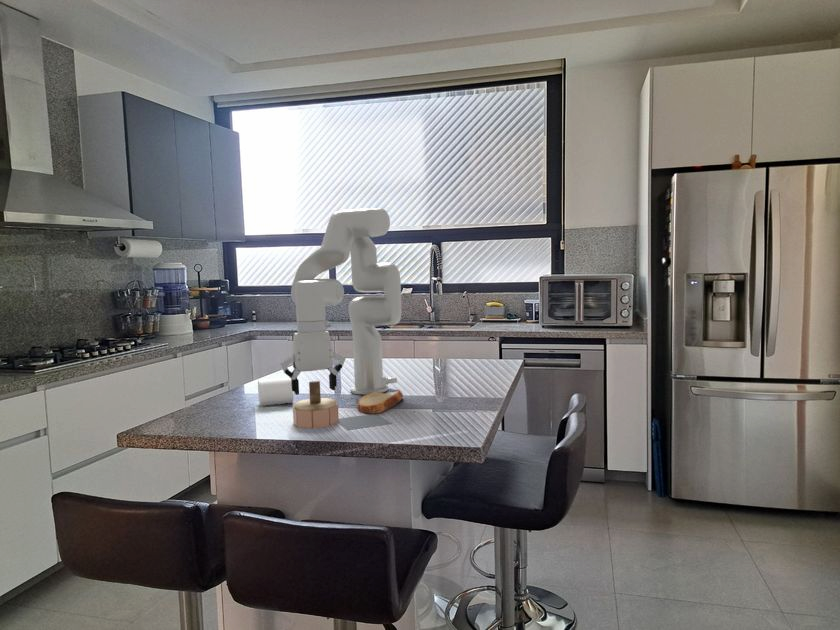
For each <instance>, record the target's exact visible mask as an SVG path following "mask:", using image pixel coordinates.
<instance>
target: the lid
mask: <svg viewBox="0 0 840 630" xmlns="http://www.w3.org/2000/svg"><path fill="white" fill-rule="evenodd" d="M308 386H309V390H308V391H309V398H306V399H302V400H298V401H296V402H295V403H294V404H293V406H294V407H295V409H297V410H303V411H316V410H324V409H329V408H332V407H334V406H336V403H337V400H336V399H334V398H330V397H329V398H328V397H321V382H320V380H311V381H309V382H308Z"/></svg>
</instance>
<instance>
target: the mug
mask: <svg viewBox="0 0 840 630" xmlns="http://www.w3.org/2000/svg"><path fill="white" fill-rule="evenodd" d="M257 390H258V392H257V393H258V394H257V395H258V404H259V407H266V406H265V405H269V406H276V405H275V404H278V405H286V404H285V403H288V404H293V403H294V391H292V384H291V378H290V377H289V376H288V377H281V378H269V379H259V380H257Z"/></svg>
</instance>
